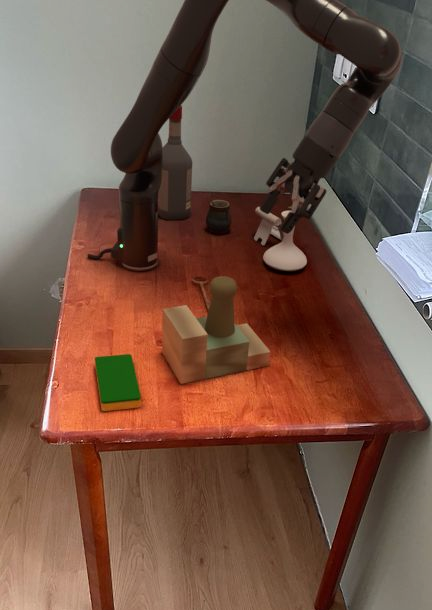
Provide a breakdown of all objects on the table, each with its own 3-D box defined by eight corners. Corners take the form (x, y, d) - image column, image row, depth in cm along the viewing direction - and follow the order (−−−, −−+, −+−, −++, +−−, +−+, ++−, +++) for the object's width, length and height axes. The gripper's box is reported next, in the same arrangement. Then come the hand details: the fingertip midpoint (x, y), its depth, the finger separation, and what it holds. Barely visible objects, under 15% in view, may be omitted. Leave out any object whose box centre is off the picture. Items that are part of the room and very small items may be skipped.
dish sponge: (131, 363, 123) (131, 353, 121) (141, 407, 112) (141, 397, 111) (95, 366, 121) (94, 356, 120) (101, 412, 111) (101, 401, 109)
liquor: (161, 221, 177) (162, 110, 159) (154, 208, 184) (155, 101, 166) (191, 219, 179) (196, 110, 161) (184, 207, 186) (188, 101, 168)
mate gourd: (235, 230, 176) (238, 195, 169) (221, 238, 170) (224, 204, 164) (214, 223, 178) (216, 189, 172) (200, 231, 173) (201, 197, 167)
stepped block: (245, 336, 133) (250, 294, 126) (268, 365, 125) (274, 322, 118) (161, 352, 126) (162, 308, 120) (180, 384, 118) (182, 338, 112)
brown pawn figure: (232, 339, 119) (237, 289, 112) (202, 335, 120) (204, 285, 113) (237, 323, 124) (242, 274, 117) (207, 318, 124) (210, 270, 118)
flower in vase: (294, 280, 154) (309, 181, 139) (254, 266, 159) (265, 169, 143) (315, 261, 163) (332, 166, 148) (277, 249, 168) (290, 156, 152)
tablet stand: (290, 243, 171) (294, 214, 166) (268, 249, 167) (271, 219, 162) (271, 231, 176) (274, 203, 171) (249, 236, 173) (252, 208, 167)
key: (225, 311, 141) (213, 279, 152) (226, 308, 140) (214, 276, 152) (200, 311, 139) (190, 278, 151) (201, 307, 139) (191, 275, 150)
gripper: (290, 122, 114) (243, 198, 121) (330, 149, 105) (276, 231, 111) (317, 140, 119) (270, 213, 125) (357, 168, 109) (304, 245, 115)
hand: (273, 221), depth 118 cm, fingers open, 8 cm apart
